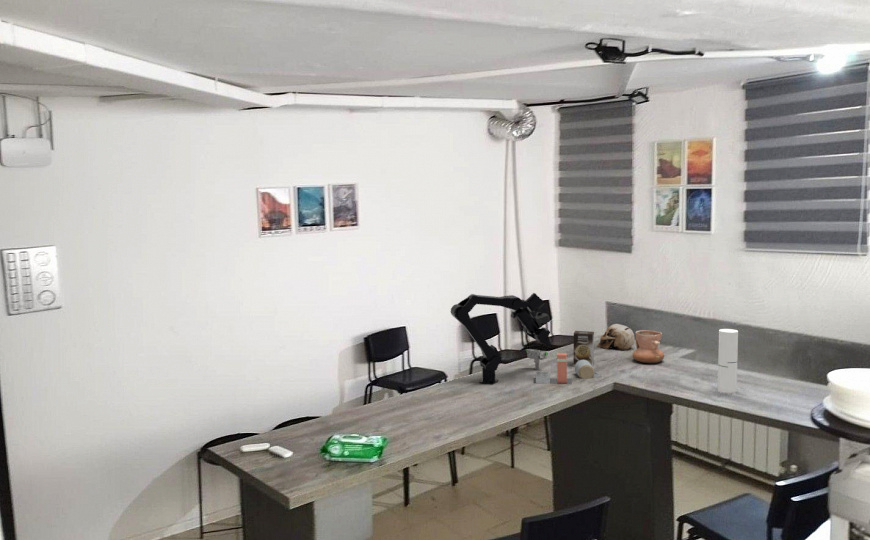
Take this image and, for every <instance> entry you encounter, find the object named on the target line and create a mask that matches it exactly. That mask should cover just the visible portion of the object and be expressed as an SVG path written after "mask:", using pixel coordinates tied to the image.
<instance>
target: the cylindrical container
mask: <svg viewBox="0 0 870 540" xmlns="http://www.w3.org/2000/svg"><path fill="white" fill-rule="evenodd" d="M738 348H739V330H737V329H733V328H720V329H719V330H718V359H717V360H718V361H717V364H718V365H717V391H718V392H719V393H722V394H723V393H724V394H736V393H737V390H738V353H739V351H738V350H739V349H738Z"/></svg>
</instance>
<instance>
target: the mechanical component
mask: <svg viewBox="0 0 870 540" xmlns="http://www.w3.org/2000/svg"><path fill="white" fill-rule="evenodd" d="M525 352H526V354H527V355H526V356H527V358H528V359H530V360H531V359H532V360H533V362H534V366H535V367H534V369H535V370H537V371H539V365H540V363H541V362H540V361H544V360H546V359H547V357H548V355H549V353H548V352H547V351H543V352H541V350H540V349H533V348H529V349H526V351H525Z"/></svg>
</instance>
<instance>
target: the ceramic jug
mask: <svg viewBox="0 0 870 540" xmlns="http://www.w3.org/2000/svg"><path fill="white" fill-rule="evenodd" d="M634 335H635V347H636V349H635V350H634V351H633V352H632V357H633V359H634V360H635V361H637V362H640V363H643V364H656V363H659V362H661V361H663V360H664V359H665V354H664V352H663V351H662V350H660V349H659V348H658V347H659V345H660V344H661V340H662V336H663V333H662V332H661V331H656V330H647V329H640V330H636V331H635V334H634Z"/></svg>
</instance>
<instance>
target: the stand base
mask: <svg viewBox="0 0 870 540" xmlns="http://www.w3.org/2000/svg"><path fill="white" fill-rule="evenodd" d="M551 374H552V372H551V371H549V372H548V371H536V373H535V377H534V380H533V384H545V385H547V384H548V385H549V384H550V385H572V379H573V378H567V383H557V378H552V377H551Z"/></svg>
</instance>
